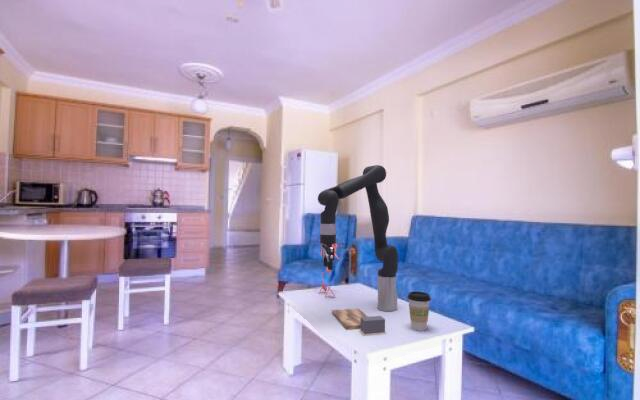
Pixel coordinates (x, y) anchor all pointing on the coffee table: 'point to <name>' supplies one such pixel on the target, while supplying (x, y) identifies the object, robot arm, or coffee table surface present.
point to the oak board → (349, 318)
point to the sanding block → (372, 325)
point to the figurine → (329, 270)
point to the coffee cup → (419, 310)
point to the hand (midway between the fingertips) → (327, 268)
